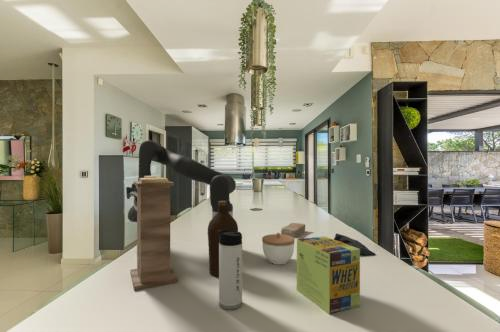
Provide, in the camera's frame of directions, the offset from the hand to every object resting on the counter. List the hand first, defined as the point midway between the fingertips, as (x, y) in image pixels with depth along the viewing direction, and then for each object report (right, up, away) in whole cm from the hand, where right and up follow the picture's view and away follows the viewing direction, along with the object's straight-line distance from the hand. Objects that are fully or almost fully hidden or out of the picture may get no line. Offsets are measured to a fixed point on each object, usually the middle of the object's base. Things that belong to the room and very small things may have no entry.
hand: (147, 183), depth 105 cm
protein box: (+61, -31, -27) cm, 74 cm away
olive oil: (+30, -31, -9) cm, 44 cm away
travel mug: (+34, -31, -31) cm, 55 cm away
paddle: (+5, +2, -9) cm, 11 cm away
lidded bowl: (+50, -31, +2) cm, 59 cm away
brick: (+63, -31, +46) cm, 84 cm away
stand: (+7, -30, -13) cm, 34 cm away
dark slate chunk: (+85, -31, +20) cm, 93 cm away
